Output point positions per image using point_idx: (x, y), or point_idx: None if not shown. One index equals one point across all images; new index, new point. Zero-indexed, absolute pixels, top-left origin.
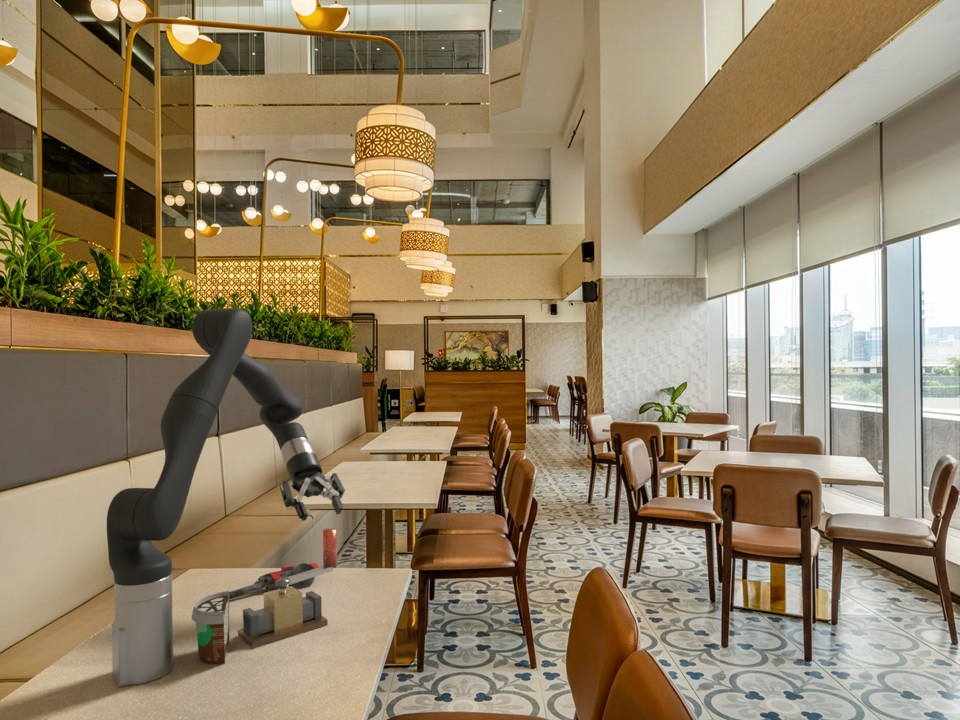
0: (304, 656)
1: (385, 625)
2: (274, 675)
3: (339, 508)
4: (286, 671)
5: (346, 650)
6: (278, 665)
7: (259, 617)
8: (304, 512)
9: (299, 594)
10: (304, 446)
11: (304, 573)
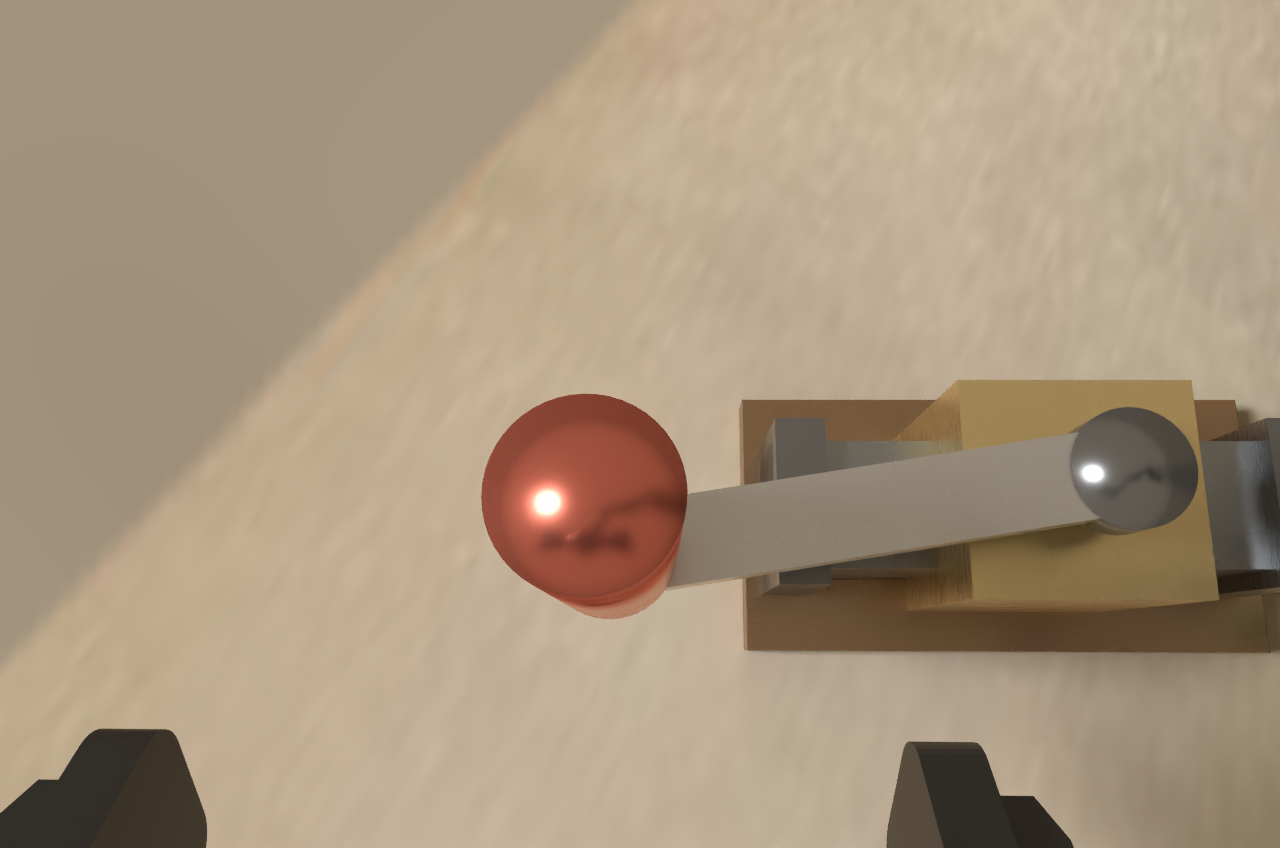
0: (1007, 137)
1: (489, 174)
2: (1195, 58)
3: (147, 739)
4: (1135, 56)
5: (809, 57)
6: (1149, 135)
7: (1235, 441)
8: (987, 795)
9: (979, 381)
10: None
11: (903, 504)
